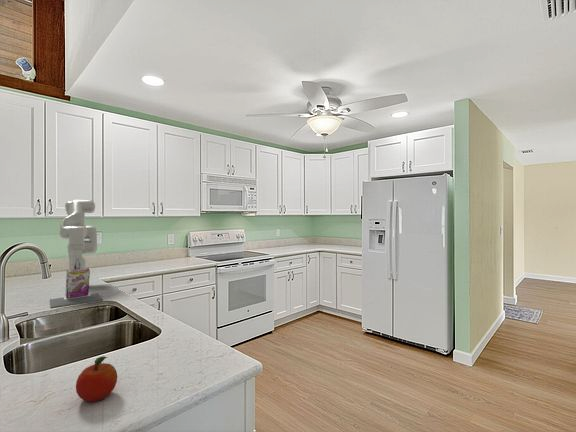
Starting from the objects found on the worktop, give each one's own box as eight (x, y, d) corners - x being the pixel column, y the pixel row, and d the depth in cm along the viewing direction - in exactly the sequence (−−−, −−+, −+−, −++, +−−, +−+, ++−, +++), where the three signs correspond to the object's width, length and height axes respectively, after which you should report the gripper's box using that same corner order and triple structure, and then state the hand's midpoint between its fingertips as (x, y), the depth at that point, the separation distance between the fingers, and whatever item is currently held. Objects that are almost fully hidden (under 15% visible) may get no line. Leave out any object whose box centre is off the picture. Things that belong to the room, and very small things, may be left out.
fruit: (65, 406, 78) (65, 367, 78) (95, 385, 88) (95, 351, 88) (98, 410, 77) (98, 370, 77) (125, 388, 86) (124, 353, 86)
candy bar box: (66, 299, 179) (67, 272, 176) (65, 295, 182) (66, 269, 180) (88, 295, 186) (90, 270, 184) (87, 292, 190) (88, 267, 187)
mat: (49, 300, 179) (49, 298, 179) (97, 293, 194) (97, 292, 194) (50, 308, 163) (50, 306, 163) (102, 300, 178) (102, 299, 178)
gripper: (68, 246, 189) (68, 276, 189) (69, 248, 178) (70, 280, 178) (82, 246, 194) (82, 275, 194) (85, 247, 182) (85, 278, 182)
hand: (76, 277), depth 186 cm, fingers closed
